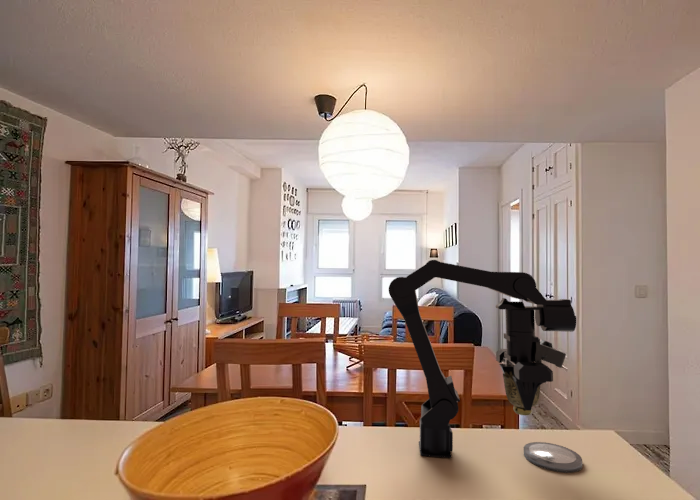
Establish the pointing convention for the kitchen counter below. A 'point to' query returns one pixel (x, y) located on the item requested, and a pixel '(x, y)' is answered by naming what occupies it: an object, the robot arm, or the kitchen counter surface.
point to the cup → (517, 395)
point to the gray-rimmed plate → (553, 457)
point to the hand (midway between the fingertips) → (522, 404)
